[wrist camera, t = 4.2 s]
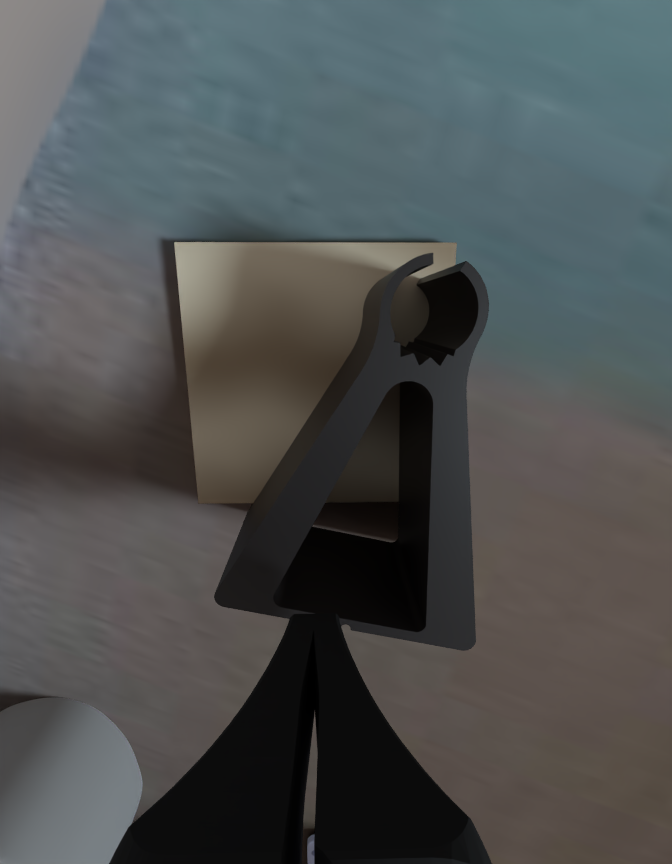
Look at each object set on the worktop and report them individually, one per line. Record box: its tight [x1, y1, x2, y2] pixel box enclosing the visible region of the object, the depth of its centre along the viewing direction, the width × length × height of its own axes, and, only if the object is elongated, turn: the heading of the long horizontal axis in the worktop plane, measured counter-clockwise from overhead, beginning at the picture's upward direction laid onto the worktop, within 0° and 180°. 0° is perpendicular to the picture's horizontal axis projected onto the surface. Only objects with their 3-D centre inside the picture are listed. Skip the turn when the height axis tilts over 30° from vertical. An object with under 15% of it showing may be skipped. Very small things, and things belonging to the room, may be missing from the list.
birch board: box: [174, 242, 457, 504], centre depth 19 cm, size 11×11×1 cm
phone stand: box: [214, 253, 489, 650], centre depth 16 cm, size 9×6×12 cm
